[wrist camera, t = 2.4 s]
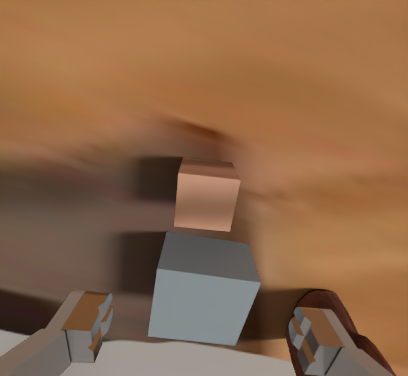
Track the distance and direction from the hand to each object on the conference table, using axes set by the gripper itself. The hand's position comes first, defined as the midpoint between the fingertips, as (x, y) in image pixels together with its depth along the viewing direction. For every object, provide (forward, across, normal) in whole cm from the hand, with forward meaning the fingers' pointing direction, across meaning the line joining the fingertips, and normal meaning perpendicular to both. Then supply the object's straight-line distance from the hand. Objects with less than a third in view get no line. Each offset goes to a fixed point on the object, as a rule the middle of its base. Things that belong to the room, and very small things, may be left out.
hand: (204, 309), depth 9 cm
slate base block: (+14, -1, +11) cm, 18 cm away
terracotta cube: (+14, 0, -1) cm, 14 cm away
